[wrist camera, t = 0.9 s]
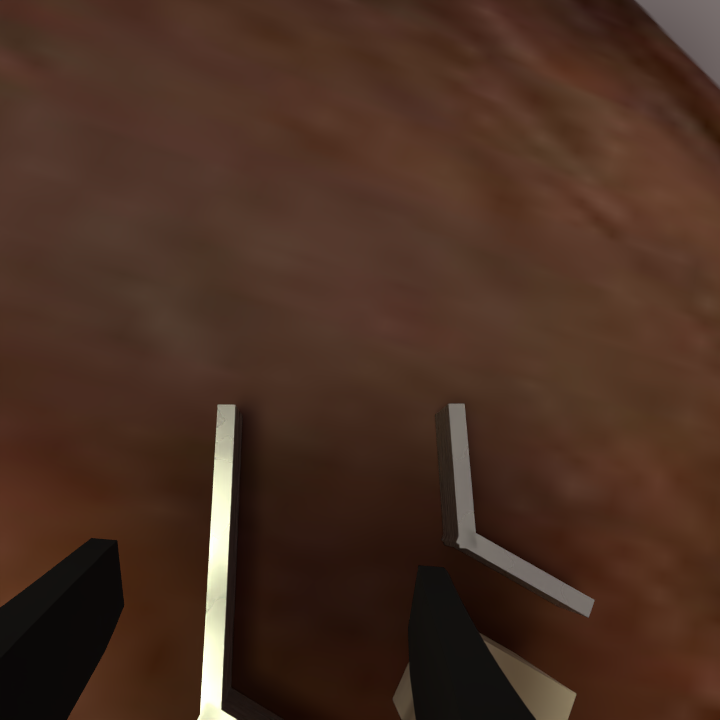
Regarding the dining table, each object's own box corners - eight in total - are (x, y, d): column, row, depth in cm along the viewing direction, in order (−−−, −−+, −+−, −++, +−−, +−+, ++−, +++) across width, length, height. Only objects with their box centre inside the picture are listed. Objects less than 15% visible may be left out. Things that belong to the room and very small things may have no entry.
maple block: (514, 652, 25) (576, 693, 19) (477, 749, 23) (531, 824, 18) (433, 606, 25) (470, 632, 19) (392, 698, 23) (418, 757, 18)
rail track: (639, 705, 24) (679, 729, 22) (338, 969, 20) (342, 1036, 18) (391, 325, 29) (399, 306, 26) (106, 482, 25) (82, 478, 22)
